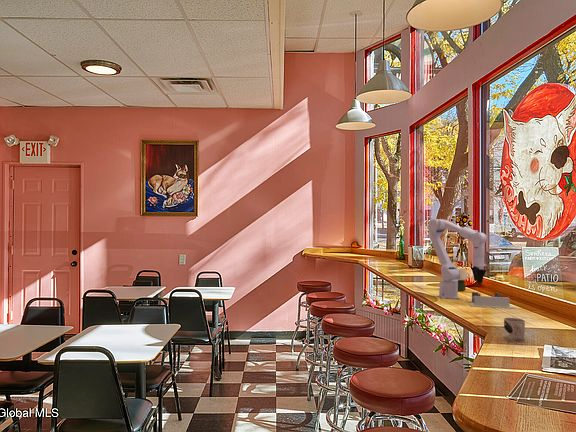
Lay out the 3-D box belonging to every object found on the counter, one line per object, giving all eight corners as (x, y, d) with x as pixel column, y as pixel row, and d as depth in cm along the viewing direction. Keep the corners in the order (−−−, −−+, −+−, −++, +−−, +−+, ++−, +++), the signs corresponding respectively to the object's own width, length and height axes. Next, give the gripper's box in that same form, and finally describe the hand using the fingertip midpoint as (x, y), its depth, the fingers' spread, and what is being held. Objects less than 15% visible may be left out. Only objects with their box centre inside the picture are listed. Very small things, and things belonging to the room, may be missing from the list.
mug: (500, 335, 170) (501, 317, 170) (519, 336, 170) (519, 318, 170) (513, 342, 160) (513, 323, 160) (532, 343, 160) (533, 324, 160)
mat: (471, 306, 228) (471, 305, 228) (468, 304, 235) (468, 302, 235) (514, 308, 225) (515, 307, 225) (510, 306, 232) (510, 305, 232)
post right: (497, 305, 234) (497, 295, 234) (494, 303, 240) (494, 293, 240) (503, 305, 234) (503, 295, 234) (500, 303, 239) (500, 293, 240)
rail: (474, 304, 230) (475, 296, 230) (473, 303, 233) (473, 295, 233) (509, 306, 227) (509, 298, 227) (507, 305, 230) (507, 297, 230)
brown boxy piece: (474, 303, 236) (474, 293, 236) (471, 301, 242) (471, 292, 242) (480, 304, 236) (480, 294, 236) (477, 302, 242) (478, 292, 242)
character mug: (468, 290, 284) (468, 268, 284) (470, 291, 277) (471, 270, 277) (449, 289, 286) (450, 268, 286) (451, 291, 279) (452, 269, 279)
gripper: (490, 257, 234) (489, 284, 234) (483, 255, 249) (483, 280, 248) (475, 256, 236) (474, 283, 236) (469, 254, 250) (469, 279, 250)
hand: (478, 281), depth 242 cm, fingers open, 7 cm apart
